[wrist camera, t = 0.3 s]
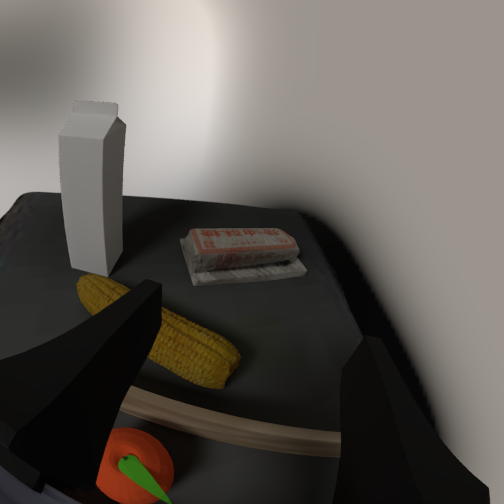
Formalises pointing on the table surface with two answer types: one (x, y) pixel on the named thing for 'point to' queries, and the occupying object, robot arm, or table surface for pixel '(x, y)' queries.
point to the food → (172, 338)
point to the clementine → (135, 468)
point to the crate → (230, 426)
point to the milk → (93, 185)
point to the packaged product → (240, 255)
